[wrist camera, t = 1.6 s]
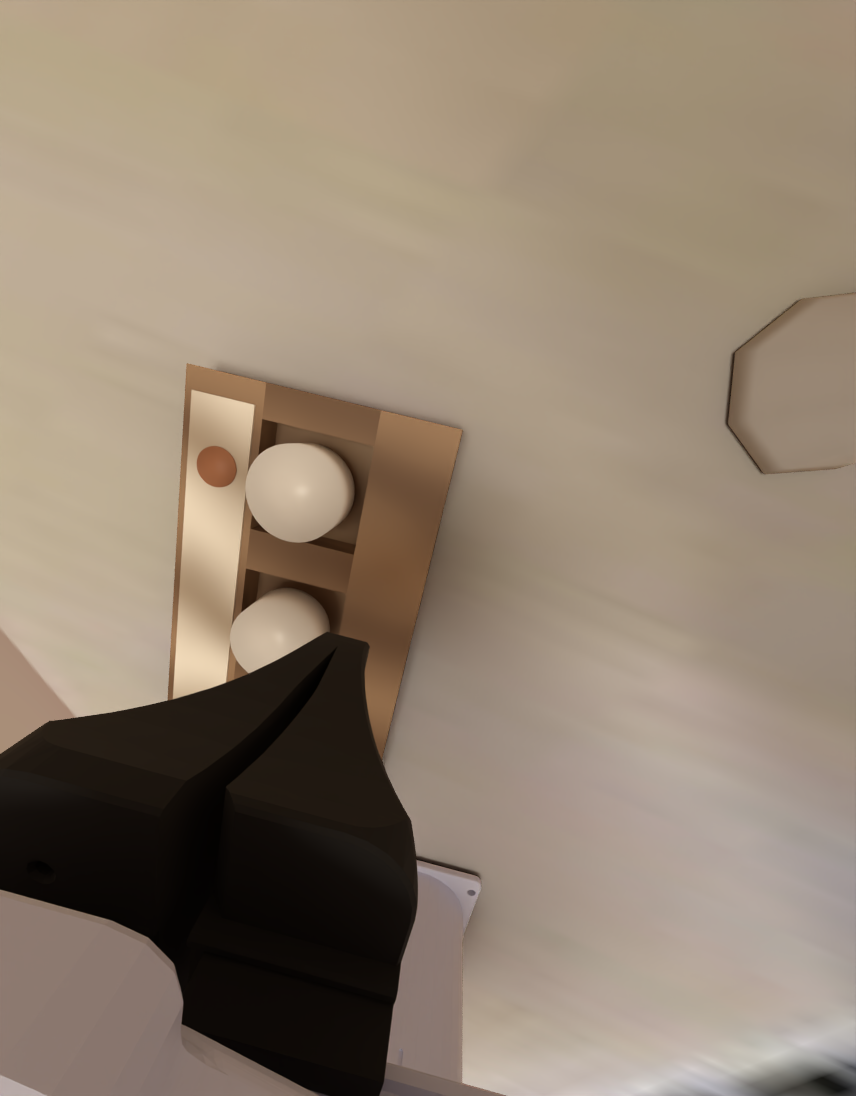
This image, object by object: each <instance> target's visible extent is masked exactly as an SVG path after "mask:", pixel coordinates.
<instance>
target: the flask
mask: <svg viewBox="0 0 856 1096" xmlns="http://www.w3.org/2000/svg"><path fill="white" fill-rule="evenodd" d="M728 425H729V426H730V428H731V429H732V430H733V432H734V433H735V434H736V436H737V437H738V439H739V440H740V441H741V443H742V444H743V446H744V447H745V448H746V450H747V451H748V453H749V454H750V455H751V457H752V458H753V459H754V461H755V462H756V464H757V465H758V466H759V468H760V469H761V471H762V472H763V473H764V474H775V473H788V472H802V471H815V470H828V469H837V468H841V467H844V466H848V465H851V464H855V463H856V293H847V294H839V295H830V296H822V297H813V298H805V299H801V300H800V301H798V302H797V303H796V304H795V305H793V306H792V307H791V308H790V309H789V310H787V311H786V312H785V313H784V314H782V315H781V316H780V317H779V318H777V319H776V320H775V321H774V322H772V323H771V324H770V325H769V326H767V327H766V328H765V329H764V330H762V331H761V332H760V333H759V334H757V335H756V336H755V337H754V338H752V339H751V340H750V341H749V342H747V343H746V344H745V345H744V346H742V347H741V348H740V349H739V350H738V351H736V352H735V360H734V370H733V380H732V390H731V400H730V410H729V420H728Z"/></svg>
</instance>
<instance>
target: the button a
mask: <svg viewBox="0 0 856 1096" xmlns="http://www.w3.org/2000/svg"><path fill="white" fill-rule="evenodd" d="M245 491H246V498H247V503H248V506H249V508H250V511H251V513H252V515H253V516H254V518H255V519H256V521H257V522H258V523H259V524H260V525H261V526H262V527H263V528H264V529H265V530H266V531H267V532H268V533H270V534H271V535H273V536H275V537H277V538H279V539H281V540H285V541H288V542H296V543H301V542H308V541H312V540H315V539H317V538H319V537H321V536H322V535H324V534H325V533H327V532H328V531H330V530H331V529H333V528H334V527H336V526H337V525H338V524H340V523H341V522H342V521H343V520H344V519H345V518H346V517H347V515H348V514H349V512H350V510H351V508H352V505H353V502H354V496H355V487H354V481H353V477H352V474H351V472H350V470H349V468H348V466H347V465H346V463H345V462H344V460H343V459H342V458H341V457H340V456H339V455H338V454H336V453H335V452H334V451H332V450H331V449H329V448H327V447H325V446H322V445H319V444H314V443H287V444H279V445H275V446H273V447H270V448H268V449H266V450H265V451H263V452H262V453H261V454H260V455H258V457H257V458H256V459H255V460H254V461H253V463H252V465H251V466H250V469H249V471H248V474H247V477H246V485H245Z"/></svg>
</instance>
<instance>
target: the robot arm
mask: <svg viewBox="0 0 856 1096" xmlns="http://www.w3.org/2000/svg"><path fill="white" fill-rule="evenodd" d="M369 649H370V646H369V644H368V643H367V642H365V641H361V640H357V639H353V638H349V637H345V636H342V635H338V634H334V633H330V632H326V633H324V634H322V635H320V636H318V637H317V638H315V639H313V640H311V641H310V642H308V643H306V644H305V645H303V646H301V647H299V648H298V649H296V650H294V651H292V652H291V653H289V654H287V655H285V656H283V657H281V658H280V659H278V660H276V661H274V662H272V663H270V664H268V665H266V666H263V667H261V668H259V669H257V670H255V671H253V672H251V673H249V674H246V675H244V676H242V677H239V678H237V679H234V680H231V681H229V682H226V683H223V684H221V685H218V686H215V687H212V688H209V689H206V690H203V691H199V692H196V693H192V694H189V695H186V696H182V697H179V698H176V699H172V700H168V701H164V702H160V703H156V704H151V705H147V706H142V707H137V708H132V709H128V710H122V711H117V712H111V713H105V714H98V715H91V716H85V717H78V718H71V719H64V720H56V721H49V722H47V723H46V724H44V725H43V726H41V727H39V728H38V729H37V730H35V731H34V732H32V733H31V734H29V735H28V736H26V737H25V738H23V739H22V740H20V741H19V742H18V743H16V744H14V745H13V746H12V747H10V748H9V749H7V750H6V751H4V752H3V753H1V754H0V1096H506V1095H502V1094H499V1093H495V1092H491V1091H488V1090H484V1089H481V1088H477V1087H474V1086H470V1085H467V1084H463V1083H462V993H463V936H464V933H465V930H466V928H467V925H468V922H469V920H470V917H471V914H472V912H473V909H474V906H475V904H476V901H477V898H478V896H479V893H480V890H481V880H480V878H479V877H477V876H475V875H471V874H467V873H464V872H460V871H456V870H452V869H449V868H445V867H441V866H438V865H434V864H430V863H426V862H423V861H419V860H416V852H415V844H414V837H413V831H412V824H411V820H410V818H409V816H408V815H407V813H406V811H405V809H404V808H403V806H402V804H401V802H400V800H399V798H398V796H397V795H396V793H395V791H394V788H393V786H392V784H391V782H390V780H389V778H388V775H387V773H386V770H385V768H384V765H383V762H382V760H381V757H380V754H379V752H378V749H377V746H376V743H375V739H374V735H373V732H372V728H371V723H370V719H369V714H368V708H367V701H366V692H365V667H366V662H367V658H368V653H369Z"/></svg>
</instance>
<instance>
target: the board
mask: <svg viewBox="0 0 856 1096" xmlns="http://www.w3.org/2000/svg"><path fill="white" fill-rule="evenodd" d="M462 432H463V430H461V429H457V428H453V427H449V426H444V425H440V424H436V423H432V422H428V421H424V420H420V419H415V418H411V417H407V416H403V415H399V414H395V413H391V412H386V411H382V410H378V409H374V408H370V407H366V406H362V405H357V404H353V403H349V402H345V401H341V400H337V399H333V398H328V397H324V396H320V395H316V394H312V393H308V392H304V391H299V390H295V389H291V388H287V387H283V386H279V385H275V384H270V383H266V382H262V381H258V380H254V379H250V378H246V377H241V376H237V375H233V374H229V373H225V372H221V371H216V370H212V369H208V368H204V367H200V366H196V365H192V364H187V368H186V385H185V403H184V421H183V438H182V456H181V474H180V491H179V509H178V527H177V544H176V562H175V580H174V597H173V615H172V633H171V651H170V668H169V686H168V700H172V699H176V698H179V697H182V696H186V695H189V694H192V693H196V692H199V691H203V690H206V689H209V688H212V687H215V686H218V685H221V684H223V683H226V682H229V681H231V680H234V679H237V678H239V677H242V676H244V675H246V674H249V673H248V672H247V671H246V670H244V669H243V668H242V666H241V665H240V664H239V663H238V661H237V660H236V658H235V656H234V654H233V652H232V649H231V645H230V632H231V628H232V625H233V623H234V621H235V619H236V618H237V616H238V615H239V614H240V613H241V612H243V611H244V610H245V609H247V608H248V607H249V606H250V605H252V604H253V603H254V602H256V601H257V600H258V599H259V598H261V597H262V596H263V595H265V594H266V593H268V592H270V591H272V590H275V589H279V588H294V589H298V590H301V591H303V592H306V593H307V594H309V595H311V596H312V597H313V598H315V599H316V600H317V601H318V602H319V603H320V604H321V606H322V607H323V608H324V610H325V612H326V614H327V616H328V619H329V624H330V633H334V634H338V635H342V636H345V637H349V638H353V639H357V640H361V641H365V642H367V643H368V644H369V646H370V649H369V653H368V658H367V662H366V667H365V692H366V701H367V708H368V714H369V719H370V723H371V728H372V732H373V735H374V739H375V743H376V746H377V749H378V752H379V754H380V757H381V760H382V757H383V753H384V749H385V745H386V741H387V737H388V733H389V728H390V724H391V720H392V716H393V712H394V708H395V704H396V700H397V696H398V692H399V688H400V684H401V680H402V676H403V672H404V668H405V663H406V659H407V655H408V651H409V647H410V643H411V639H412V635H413V631H414V627H415V623H416V619H417V615H418V611H419V607H420V603H421V598H422V594H423V590H424V586H425V582H426V578H427V574H428V570H429V566H430V562H431V558H432V554H433V550H434V546H435V542H436V538H437V533H438V529H439V525H440V521H441V517H442V513H443V509H444V505H445V501H446V497H447V493H448V489H449V485H450V481H451V477H452V473H453V468H454V464H455V460H456V456H457V452H458V448H459V444H460V440H461V436H462ZM287 443H314V444H319V445H322V446H325V447H327V448H329V449H331V450H332V451H334V452H335V453H336V454H338V455H339V456H340V457H341V458H342V459H343V460H344V462H345V463H346V465H347V466H348V468H349V470H350V472H351V474H352V477H353V481H354V487H355V496H354V502H353V505H352V508H351V510H350V512H349V514H348V515H347V517H346V518H345V519H344V520H343V521H342V522H341V523H340V524H338V525H337V526H336V527H334V528H333V529H331V530H330V531H328V532H327V533H325V534H324V535H322V536H321V537H319V538H317V539H315V540H312V541H308V542H301V543H296V542H288V541H285V540H281V539H279V538H277V537H275V536H273V535H271V534H270V533H268V532H267V531H266V530H265V529H264V528H263V527H262V526H261V525H260V524H259V523H258V522H257V521H256V519H255V518H254V516H253V515H252V513H251V511H250V508H249V506H248V503H247V498H246V491H245V485H246V477H247V474H248V471H249V469H250V466H251V465H252V463H253V461H254V460H255V459H256V458H257V457H258V455H260V454H261V453H262V452H263V451H265V450H266V449H268V448H270V447H273V446H275V445H279V444H287Z"/></svg>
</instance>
